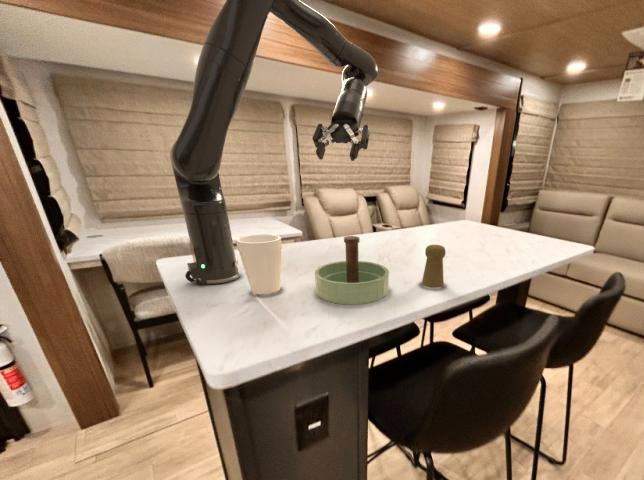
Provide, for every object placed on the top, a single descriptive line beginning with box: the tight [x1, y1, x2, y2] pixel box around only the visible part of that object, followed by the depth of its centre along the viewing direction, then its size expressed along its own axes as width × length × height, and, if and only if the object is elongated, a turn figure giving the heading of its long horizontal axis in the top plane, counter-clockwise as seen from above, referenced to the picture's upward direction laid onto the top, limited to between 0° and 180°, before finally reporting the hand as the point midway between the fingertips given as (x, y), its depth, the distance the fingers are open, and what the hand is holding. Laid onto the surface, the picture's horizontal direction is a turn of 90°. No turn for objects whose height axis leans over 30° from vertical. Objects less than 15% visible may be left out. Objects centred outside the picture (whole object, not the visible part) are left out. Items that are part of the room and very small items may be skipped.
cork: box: [421, 244, 446, 289], centre depth 81 cm, size 6×6×11 cm
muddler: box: [343, 235, 361, 283], centre depth 74 cm, size 4×4×13 cm
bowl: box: [314, 260, 390, 306], centre depth 76 cm, size 18×18×6 cm
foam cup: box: [235, 233, 283, 297], centre depth 72 cm, size 10×9×13 cm
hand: (335, 157), depth 78 cm, fingers open, 8 cm apart
